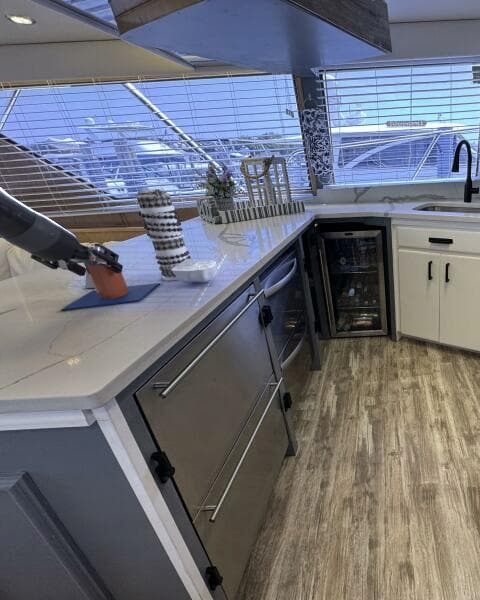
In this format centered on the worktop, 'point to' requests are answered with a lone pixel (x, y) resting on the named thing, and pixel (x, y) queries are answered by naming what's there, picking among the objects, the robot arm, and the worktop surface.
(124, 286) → the cup
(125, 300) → the cloth
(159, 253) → the decorative candle
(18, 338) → the worktop surface
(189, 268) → the white rounded container
